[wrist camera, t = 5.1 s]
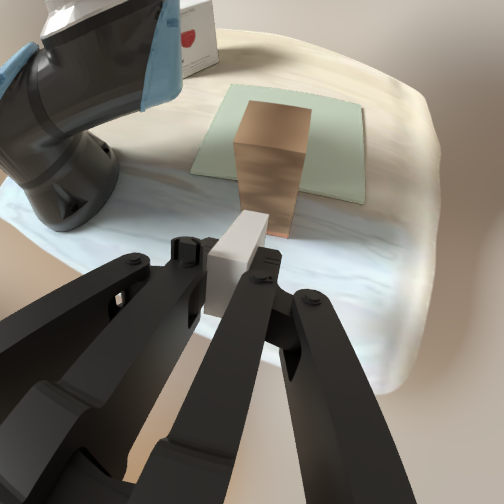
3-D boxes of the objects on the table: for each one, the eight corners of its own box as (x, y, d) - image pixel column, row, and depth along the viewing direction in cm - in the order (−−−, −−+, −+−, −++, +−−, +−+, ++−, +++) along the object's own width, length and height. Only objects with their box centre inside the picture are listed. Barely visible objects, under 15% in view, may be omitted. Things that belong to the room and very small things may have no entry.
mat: (191, 173, 34) (190, 171, 34) (231, 86, 41) (231, 83, 40) (363, 204, 32) (364, 202, 31) (360, 107, 39) (360, 104, 38)
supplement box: (182, 80, 43) (166, 13, 29) (160, 68, 45) (144, 10, 31) (220, 62, 45) (213, -2, 31) (196, 51, 47) (186, -5, 33)
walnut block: (243, 230, 31) (233, 141, 18) (253, 193, 33) (249, 100, 20) (288, 238, 30) (306, 153, 17) (294, 200, 32) (311, 109, 19)
